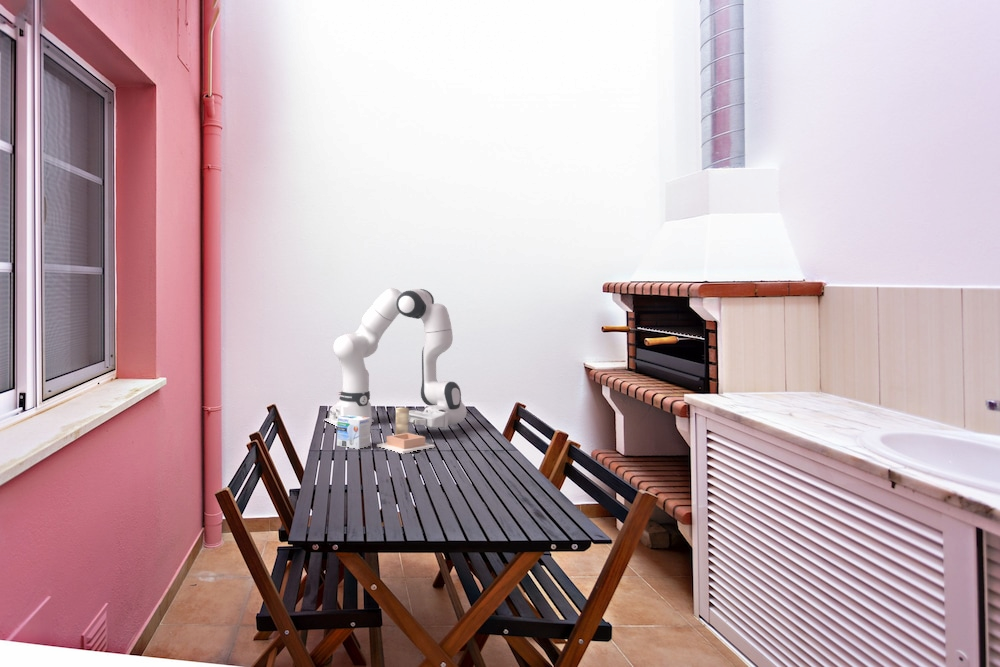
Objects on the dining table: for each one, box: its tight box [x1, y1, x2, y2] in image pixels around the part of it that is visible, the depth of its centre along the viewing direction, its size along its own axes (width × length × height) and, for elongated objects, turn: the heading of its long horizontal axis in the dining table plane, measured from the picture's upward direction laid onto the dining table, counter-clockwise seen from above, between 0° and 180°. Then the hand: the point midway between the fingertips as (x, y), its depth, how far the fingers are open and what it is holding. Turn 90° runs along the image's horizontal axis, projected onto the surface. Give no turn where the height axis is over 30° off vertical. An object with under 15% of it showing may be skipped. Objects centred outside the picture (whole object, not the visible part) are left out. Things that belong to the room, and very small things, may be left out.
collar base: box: [376, 432, 436, 455], centre depth 261 cm, size 15×15×4 cm
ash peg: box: [394, 407, 410, 435], centre depth 274 cm, size 5×5×12 cm
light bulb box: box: [336, 415, 372, 450], centre depth 260 cm, size 11×7×11 cm, turn 62°
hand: (406, 420), depth 276 cm, fingers open, 8 cm apart
